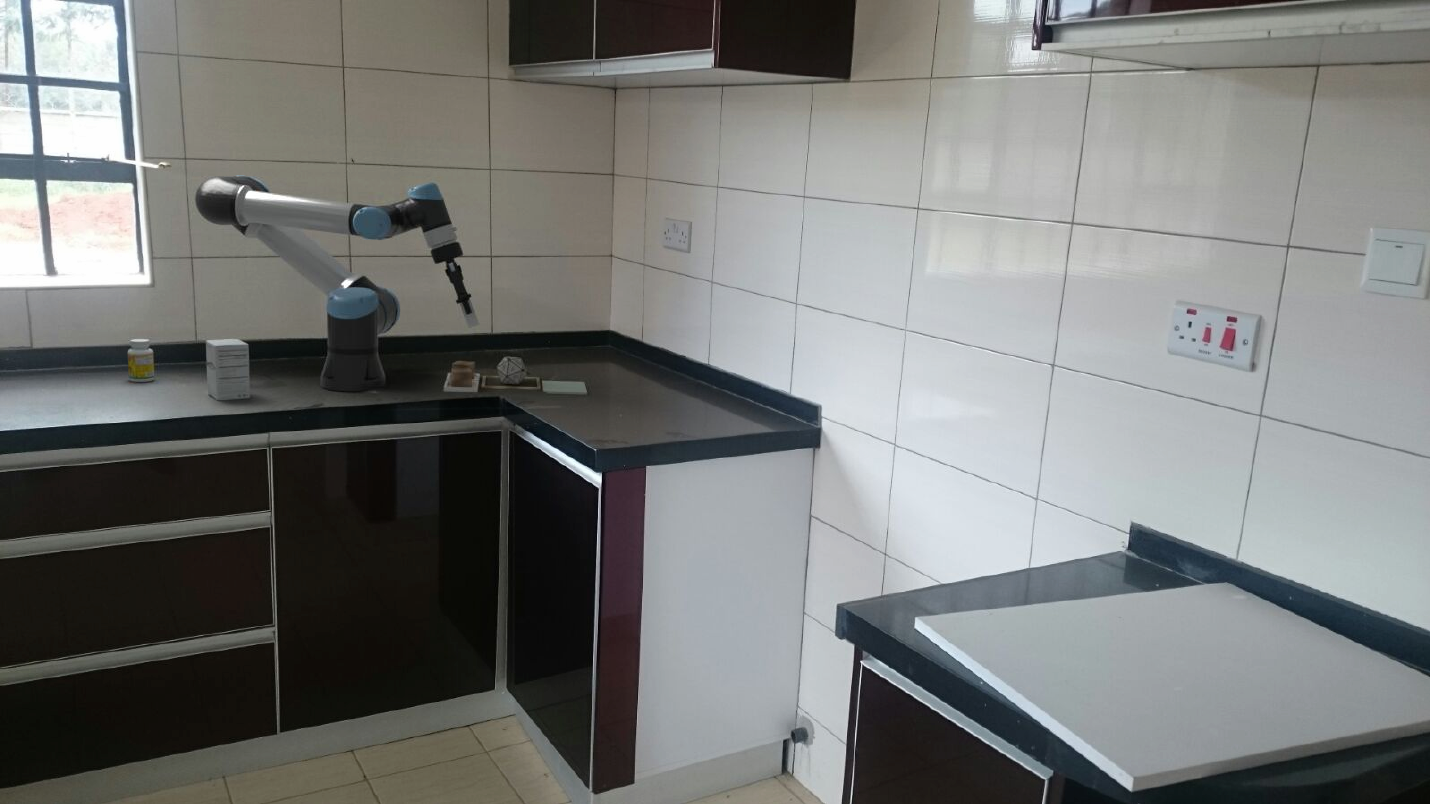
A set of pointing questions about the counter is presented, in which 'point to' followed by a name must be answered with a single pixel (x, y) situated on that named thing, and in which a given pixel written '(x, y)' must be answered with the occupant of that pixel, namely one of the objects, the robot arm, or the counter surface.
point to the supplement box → (228, 369)
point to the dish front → (461, 389)
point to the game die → (511, 370)
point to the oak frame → (511, 387)
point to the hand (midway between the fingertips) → (473, 325)
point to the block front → (461, 378)
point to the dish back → (477, 378)
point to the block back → (465, 366)
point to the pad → (564, 387)
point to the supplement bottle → (140, 361)
